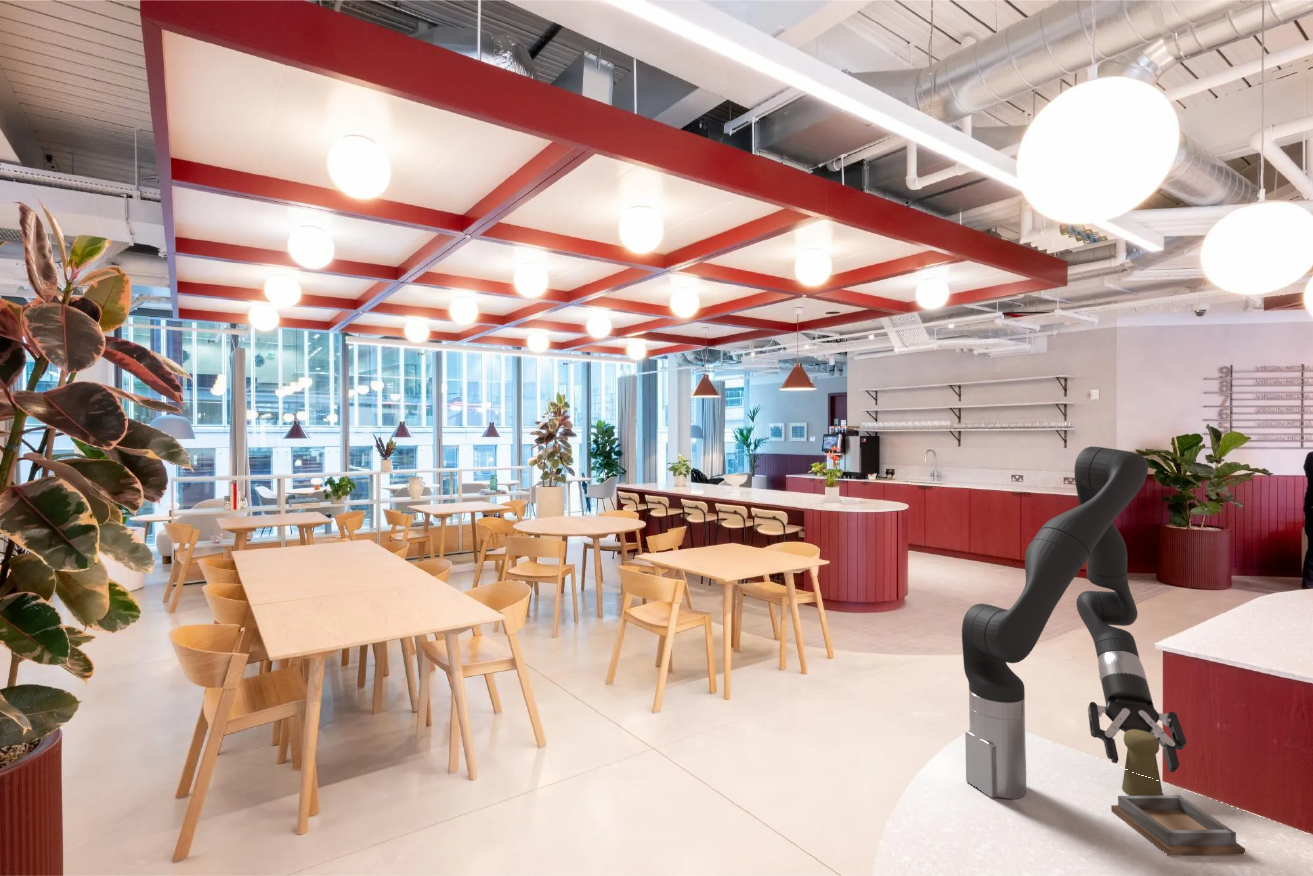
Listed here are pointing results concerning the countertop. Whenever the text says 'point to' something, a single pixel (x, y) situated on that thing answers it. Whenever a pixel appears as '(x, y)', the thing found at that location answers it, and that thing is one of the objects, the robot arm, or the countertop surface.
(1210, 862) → the countertop surface
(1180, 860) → the countertop surface
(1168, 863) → the countertop surface
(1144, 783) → the cork
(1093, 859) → the countertop surface
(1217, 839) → the plate
